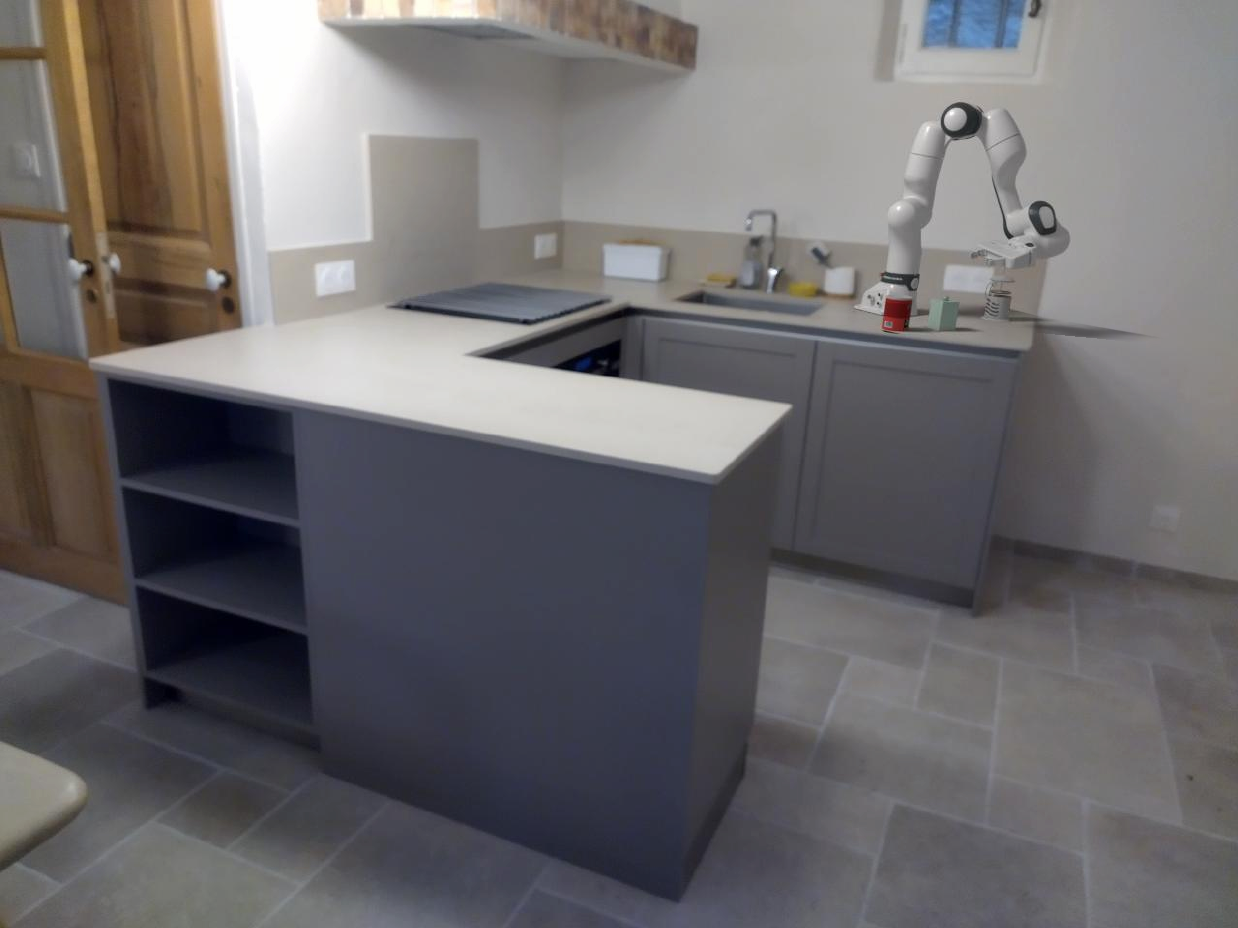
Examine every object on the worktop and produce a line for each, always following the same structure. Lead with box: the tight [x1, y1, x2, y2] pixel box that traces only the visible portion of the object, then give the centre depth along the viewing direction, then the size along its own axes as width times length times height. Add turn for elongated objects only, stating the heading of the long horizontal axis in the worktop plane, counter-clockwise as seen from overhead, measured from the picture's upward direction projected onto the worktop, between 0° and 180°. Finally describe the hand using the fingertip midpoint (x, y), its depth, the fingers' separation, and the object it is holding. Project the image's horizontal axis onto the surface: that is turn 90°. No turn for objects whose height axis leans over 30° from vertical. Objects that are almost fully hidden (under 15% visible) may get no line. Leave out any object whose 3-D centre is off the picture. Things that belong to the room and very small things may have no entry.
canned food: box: [881, 295, 913, 335], centre depth 282 cm, size 8×8×11 cm
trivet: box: [922, 325, 963, 333], centre depth 287 cm, size 9×9×1 cm
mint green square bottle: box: [926, 295, 960, 331], centre depth 286 cm, size 6×6×10 cm
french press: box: [980, 266, 1016, 323], centre depth 312 cm, size 10×12×25 cm
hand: (979, 259), depth 285 cm, fingers open, 8 cm apart
